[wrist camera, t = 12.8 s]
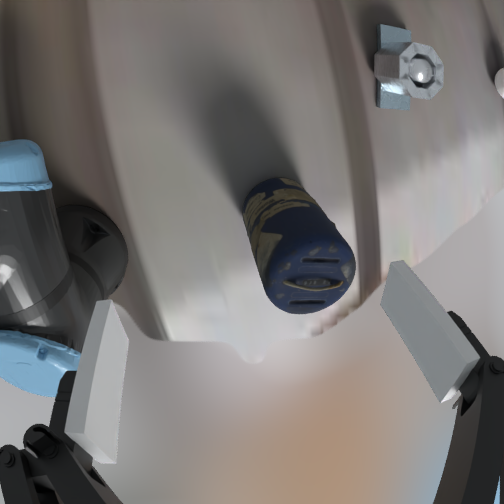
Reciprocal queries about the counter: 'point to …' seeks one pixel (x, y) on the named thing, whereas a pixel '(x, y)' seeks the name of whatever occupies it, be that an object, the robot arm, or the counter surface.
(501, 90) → the egg
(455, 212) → the counter surface
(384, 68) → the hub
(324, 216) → the canister
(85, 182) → the counter surface
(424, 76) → the shaft stand
